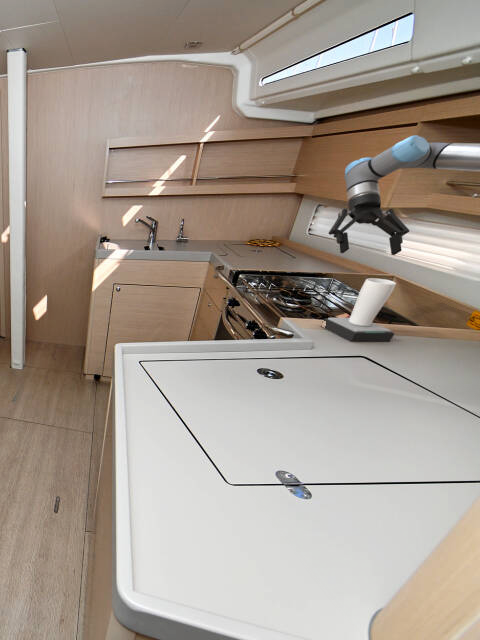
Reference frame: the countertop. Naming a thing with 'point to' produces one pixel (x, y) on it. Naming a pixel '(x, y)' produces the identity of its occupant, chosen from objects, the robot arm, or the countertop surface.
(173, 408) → the countertop surface
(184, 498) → the countertop surface
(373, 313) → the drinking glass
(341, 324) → the kitchen scale
